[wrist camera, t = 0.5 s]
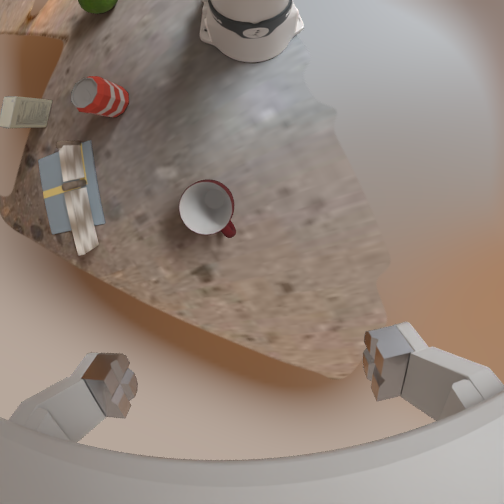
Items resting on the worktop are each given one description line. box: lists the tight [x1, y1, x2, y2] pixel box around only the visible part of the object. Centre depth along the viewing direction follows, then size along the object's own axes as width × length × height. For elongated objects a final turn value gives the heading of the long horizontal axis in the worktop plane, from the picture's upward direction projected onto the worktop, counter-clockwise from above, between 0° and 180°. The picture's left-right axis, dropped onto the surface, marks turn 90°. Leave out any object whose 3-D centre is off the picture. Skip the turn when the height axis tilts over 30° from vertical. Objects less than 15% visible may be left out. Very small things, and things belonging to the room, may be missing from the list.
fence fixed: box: [56, 141, 87, 191], centre depth 46 cm, size 9×1×7 cm, turn 8°
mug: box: [179, 180, 236, 238], centre depth 47 cm, size 10×8×10 cm
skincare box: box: [0, 96, 52, 128], centre depth 40 cm, size 6×4×12 cm
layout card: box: [38, 140, 105, 235], centre depth 51 cm, size 17×15×1 cm
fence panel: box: [64, 187, 99, 256], centre depth 49 cm, size 12×1×6 cm, turn 7°
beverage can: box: [71, 76, 129, 117], centre depth 40 cm, size 6×6×12 cm
